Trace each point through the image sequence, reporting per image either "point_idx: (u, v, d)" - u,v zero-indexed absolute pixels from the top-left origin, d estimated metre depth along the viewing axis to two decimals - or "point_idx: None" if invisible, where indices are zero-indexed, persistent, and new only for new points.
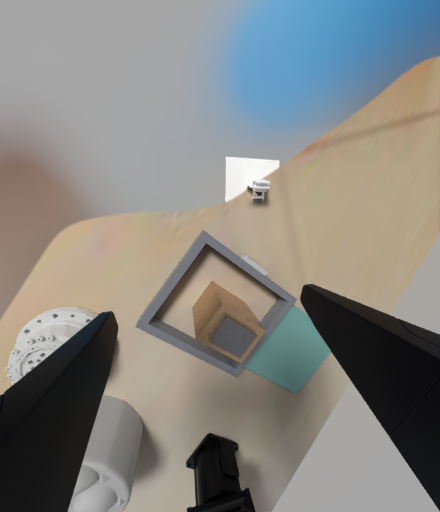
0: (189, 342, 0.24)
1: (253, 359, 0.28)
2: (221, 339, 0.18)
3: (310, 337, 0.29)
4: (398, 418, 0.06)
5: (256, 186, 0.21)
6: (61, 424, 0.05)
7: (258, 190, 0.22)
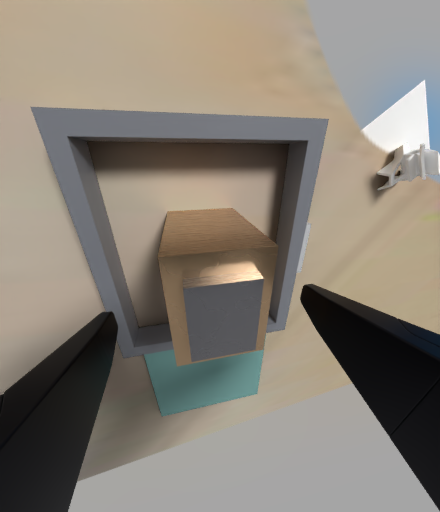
0: (108, 254, 0.11)
1: None
2: (207, 306, 0.07)
3: (239, 373, 0.21)
4: (398, 418, 0.06)
5: None
6: (61, 424, 0.05)
7: (410, 166, 0.13)
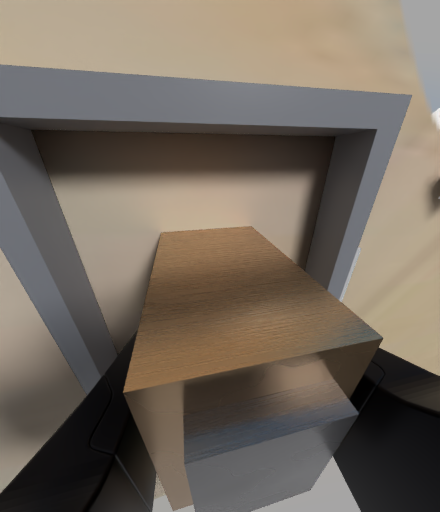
0: (73, 298, 0.08)
1: None
2: (237, 472, 0.03)
3: None
4: None
5: None
6: None
7: None
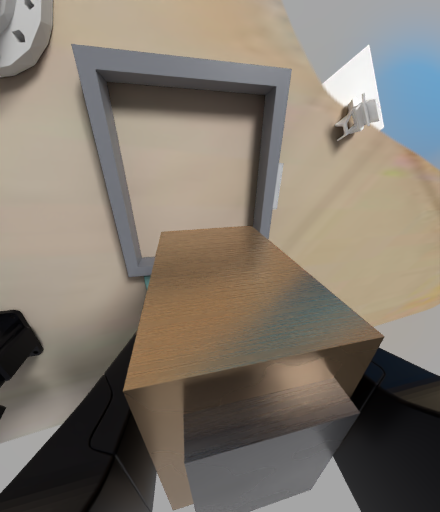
0: (120, 176, 0.14)
1: None
2: (237, 472, 0.03)
3: None
4: None
5: None
6: None
7: (357, 115, 0.16)
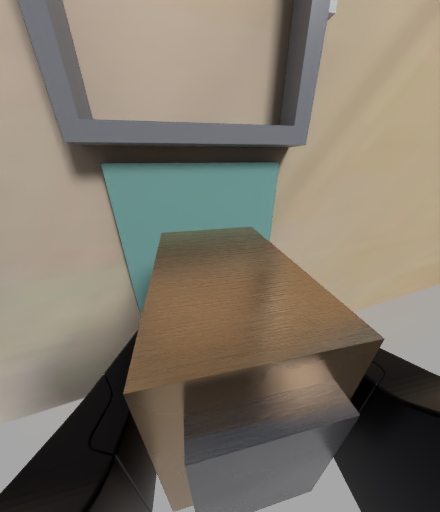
0: None
1: (132, 173, 0.12)
2: (237, 473, 0.03)
3: None
4: None
5: None
6: None
7: None
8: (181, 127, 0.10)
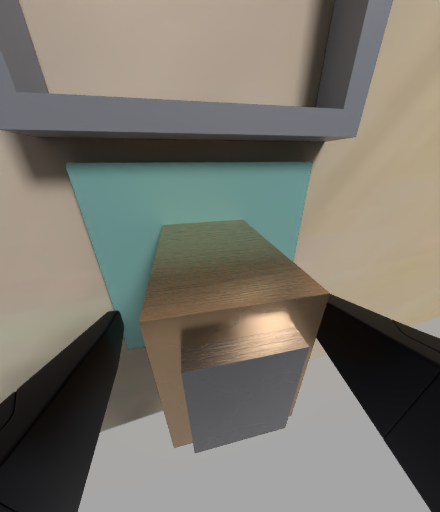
0: None
1: (112, 177, 0.09)
2: (220, 390, 0.04)
3: None
4: (391, 420, 0.06)
5: None
6: (72, 421, 0.05)
7: None
8: (181, 108, 0.07)
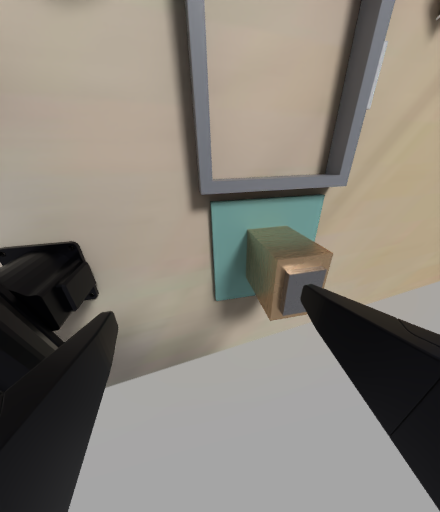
0: (205, 53, 0.12)
1: (229, 207, 0.18)
2: (298, 284, 0.14)
3: None
4: (398, 418, 0.06)
5: None
6: (61, 424, 0.05)
7: None
8: (269, 181, 0.16)
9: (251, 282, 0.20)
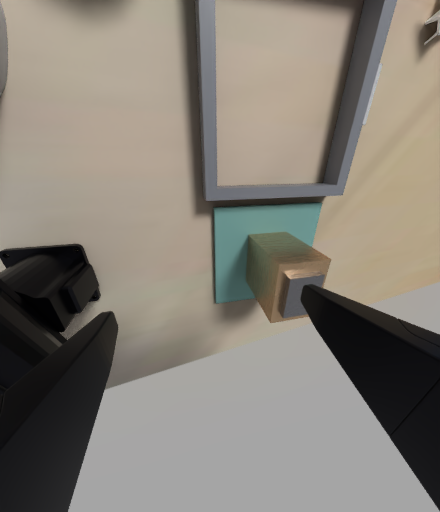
0: (214, 68, 0.13)
1: (231, 213, 0.19)
2: (298, 288, 0.15)
3: None
4: (398, 418, 0.06)
5: None
6: (61, 424, 0.05)
7: None
8: (271, 189, 0.17)
9: (251, 285, 0.21)
